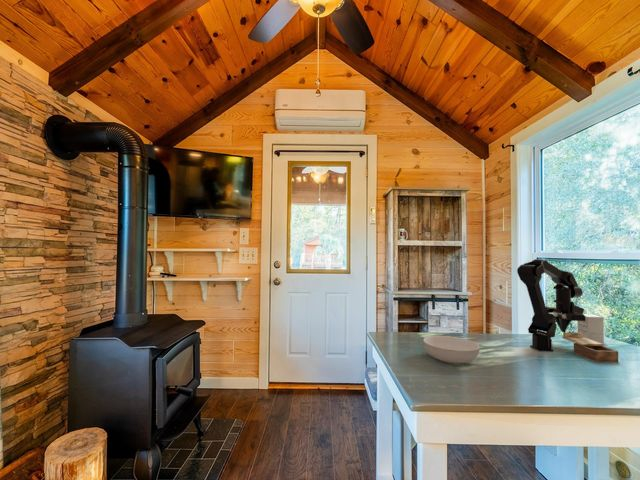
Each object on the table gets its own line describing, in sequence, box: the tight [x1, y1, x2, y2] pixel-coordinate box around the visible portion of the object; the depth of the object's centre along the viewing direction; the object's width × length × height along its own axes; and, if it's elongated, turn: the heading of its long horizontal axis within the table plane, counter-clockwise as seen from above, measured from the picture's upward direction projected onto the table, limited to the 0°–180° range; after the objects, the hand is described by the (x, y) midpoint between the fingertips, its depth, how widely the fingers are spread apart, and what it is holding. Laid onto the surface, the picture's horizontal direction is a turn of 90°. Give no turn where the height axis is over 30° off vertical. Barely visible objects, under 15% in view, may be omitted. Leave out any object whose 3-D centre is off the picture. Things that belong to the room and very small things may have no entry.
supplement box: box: [576, 313, 605, 344], centre depth 158 cm, size 7×7×13 cm
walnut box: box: [573, 342, 619, 363], centre depth 133 cm, size 9×11×4 cm
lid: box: [561, 332, 605, 347], centre depth 140 cm, size 9×11×2 cm
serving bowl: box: [422, 335, 481, 364], centre depth 128 cm, size 21×21×7 cm
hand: (563, 332), depth 150 cm, fingers closed
